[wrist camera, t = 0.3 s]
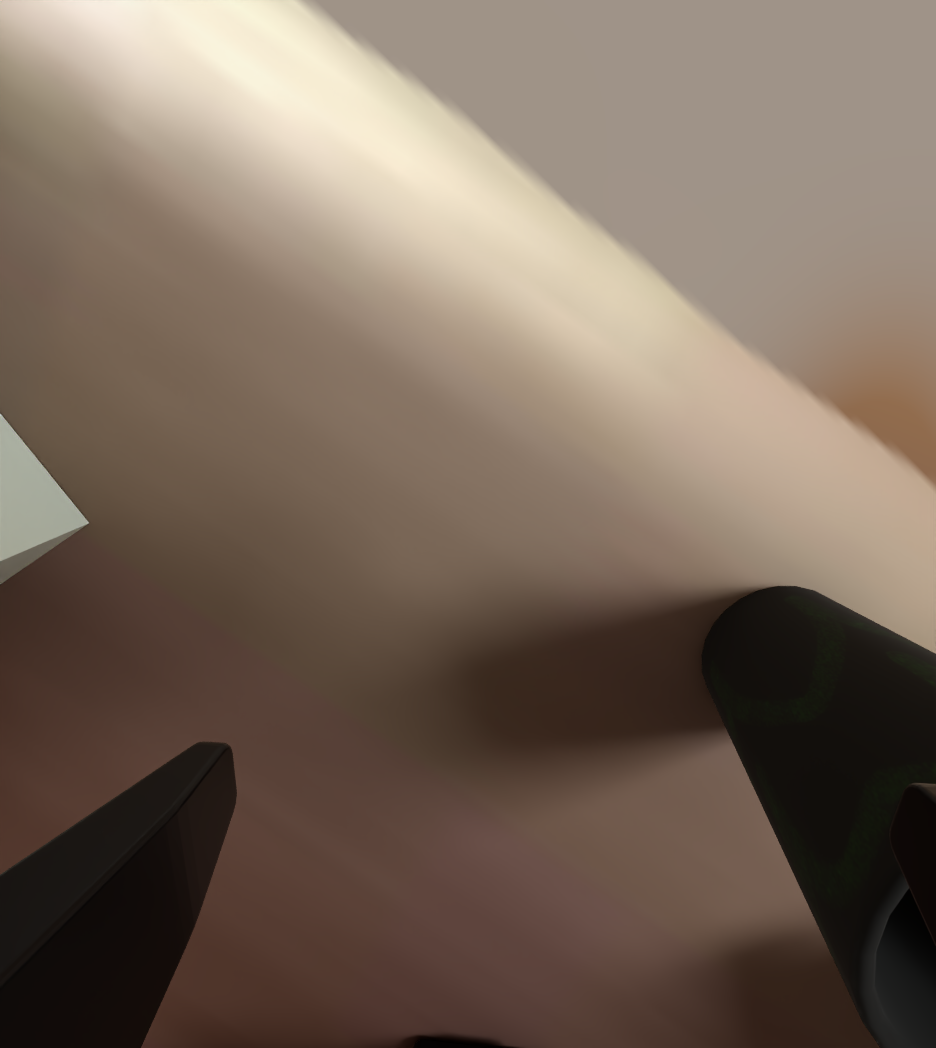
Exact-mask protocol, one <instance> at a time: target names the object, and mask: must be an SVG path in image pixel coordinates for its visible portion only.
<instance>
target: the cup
mask: <svg viewBox="0 0 936 1048" xmlns="http://www.w3.org/2000/svg"><path fill="white" fill-rule="evenodd" d="M702 673H703V676H704V679H705V682H706V686H707V688H708V690H709V693H710V695H711V697H712V699H713V701H714V703H715V705H716V708H717V710H718V712H719V714H720V716H721V718H722V720H723V723H724V725H725V727H726V729H727V731H728V733H729V736H730V738H731V740H732V742H733V744H734V746H735V748H736V751H737V753H738V755H739V757H740V759H741V761H742V764H743V766H744V768H745V770H746V772H747V774H748V776H749V779H750V781H751V783H752V785H753V787H754V789H755V791H756V794H757V796H758V798H759V800H760V802H761V804H762V807H763V809H764V811H765V813H766V815H767V817H768V819H769V822H770V824H771V826H772V828H773V830H774V832H775V835H776V837H777V839H778V841H779V843H780V845H781V847H782V850H783V852H784V854H785V856H786V858H787V860H788V862H789V865H790V867H791V869H792V871H793V873H794V875H795V878H796V880H797V882H798V884H799V886H800V888H801V890H802V893H803V895H804V897H805V899H806V901H807V903H808V905H809V908H810V910H811V912H812V914H813V916H814V918H815V921H816V923H817V925H818V927H819V929H820V931H821V933H822V936H823V938H824V940H825V942H826V944H827V946H828V949H829V951H830V953H831V955H832V957H833V959H834V961H835V964H836V966H837V968H838V970H839V972H840V974H841V976H842V979H843V981H844V983H845V985H846V987H847V989H848V992H849V994H850V996H851V998H852V1000H853V1002H854V1004H855V1007H856V1009H857V1011H858V1013H859V1015H860V1017H861V1020H862V1022H863V1023H864V1025H865V1026H866V1028H867V1029H868V1030H869V1032H870V1033H871V1035H872V1036H873V1038H874V1039H875V1040H876V1042H877V1043H878V1045H879V1046H880V1048H936V946H935V944H934V941H933V939H932V937H931V935H930V932H929V930H928V928H927V926H926V924H925V921H924V919H923V917H922V915H921V913H920V910H919V908H918V906H917V904H916V902H915V899H914V897H913V895H912V893H911V890H910V888H909V886H908V884H907V882H906V879H905V877H904V875H903V873H902V871H901V868H900V866H899V864H898V862H897V860H896V857H895V855H894V853H893V850H892V848H891V844H890V837H889V834H890V827H891V824H892V821H893V819H894V816H895V813H896V810H897V808H898V805H899V802H900V799H901V797H902V794H903V791H904V789H905V788H906V787H907V786H908V785H909V784H912V783H926V784H936V654H935V653H933V652H931V651H929V650H927V649H925V648H923V647H921V646H920V645H918V644H916V643H914V642H912V641H910V640H908V639H906V638H904V637H902V636H900V635H898V634H896V633H895V632H893V631H891V630H889V629H887V628H885V627H883V626H881V625H879V624H877V623H875V622H873V621H872V620H870V619H868V618H866V617H864V616H862V615H860V614H858V613H856V612H854V611H852V610H850V609H849V608H847V607H845V606H843V605H841V604H839V603H837V602H835V601H833V600H831V599H829V598H827V597H825V596H824V595H822V594H820V593H818V592H816V591H813V590H809V589H805V588H801V587H797V586H777V587H773V588H768V589H763V590H759V591H757V592H754V593H752V594H750V595H748V596H746V597H743V598H741V599H740V600H738V601H737V602H736V603H734V604H733V605H732V606H730V607H729V608H728V609H726V610H725V611H724V613H723V614H722V615H721V616H720V617H719V618H718V619H717V621H716V622H715V623H714V624H713V626H712V628H711V630H710V632H709V634H708V636H707V638H706V640H705V644H704V648H703V652H702Z"/></svg>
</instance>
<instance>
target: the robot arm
mask: <svg viewBox="0 0 936 1048" xmlns="http://www.w3.org/2000/svg"><path fill="white" fill-rule="evenodd" d="M236 796H237V789H236V780H235V771H234V762H233V753H232V749H231V747H230V746H229V745H228V744H227V743H219V742H198V743H196V744H194V745H193V746H191V747H190V748H188V749H187V750H185V751H184V752H182V753H181V754H179V755H178V756H176V757H175V758H173V759H172V760H170V761H169V762H167V763H166V764H164V765H163V766H161V767H160V768H158V769H157V770H155V771H154V772H152V773H151V774H149V775H148V776H146V777H145V778H143V779H142V780H140V781H139V782H138V783H136V784H135V785H133V786H132V787H130V788H129V789H127V790H126V791H124V792H123V793H121V794H120V795H118V796H117V797H115V798H114V799H112V800H111V801H109V802H108V803H106V804H105V805H103V806H102V807H100V808H99V809H97V810H96V811H94V812H93V813H91V814H90V815H88V816H87V817H85V818H84V819H82V820H81V821H79V822H78V823H76V824H75V825H73V826H72V827H70V828H69V829H68V830H66V831H65V832H63V833H62V834H60V835H59V836H57V837H56V838H54V839H53V840H51V841H50V842H48V843H47V844H45V845H44V846H42V847H41V848H39V849H38V850H36V851H35V852H33V853H32V854H30V855H29V856H27V857H26V858H24V859H23V860H21V861H20V862H18V863H17V864H15V865H14V866H12V867H11V868H9V869H8V870H6V871H5V872H3V873H2V874H1V875H0V1048H141V1046H142V1044H143V1042H144V1040H145V1037H146V1035H147V1033H148V1031H149V1028H150V1026H151V1024H152V1022H153V1019H154V1017H155V1015H156V1013H157V1011H158V1008H159V1006H160V1004H161V1002H162V999H163V997H164V995H165V993H166V991H167V988H168V986H169V984H170V982H171V979H172V977H173V975H174V973H175V970H176V968H177V966H178V964H179V962H180V959H181V957H182V955H183V953H184V950H185V948H186V946H187V944H188V941H189V939H190V936H191V934H192V932H193V929H194V927H195V924H196V921H197V919H198V916H199V913H200V910H201V907H202V904H203V901H204V898H205V895H206V892H207V890H208V887H209V884H210V881H211V878H212V875H213V872H214V869H215V866H216V863H217V860H218V857H219V854H220V851H221V848H222V845H223V842H224V839H225V836H226V833H227V830H228V827H229V824H230V821H231V818H232V815H233V812H234V808H235V804H236ZM889 837H890V844H891V848H892V850H893V853H894V855H895V857H896V860H897V862H898V864H899V866H900V868H901V871H902V873H903V875H904V877H905V879H906V882H907V884H908V886H909V888H910V890H911V893H912V895H913V897H914V899H915V902H916V904H917V906H918V908H919V910H920V913H921V915H922V917H923V919H924V921H925V924H926V926H927V928H928V930H929V932H930V935H931V937H932V939H933V941H934V944H935V946H936V784H926V783H912V784H909V785H908V786H907V787H906V788H905V789H904V791H903V794H902V797H901V799H900V802H899V805H898V808H897V810H896V813H895V816H894V819H893V821H892V824H891V827H890V834H889ZM413 1048H485V1047H477V1046H469V1045H461V1044H454V1043H446V1042H438V1041H430V1040H420V1041H417V1042H416V1043H415V1044H414V1046H413Z"/></svg>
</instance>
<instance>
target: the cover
mask: <svg viewBox="0 0 936 1048" xmlns="http://www.w3.org/2000/svg"><path fill="white" fill-rule="evenodd" d="M87 524H89V522H88V521H87V520H86V519H85V517H84V516H83V515H82V514H81V512H80V511H79V510H78V509H77V507H76V506H75V505H74V504H73V503H72V501H71V500H70V499H69V498H68V496H67V495H66V494H65V493H64V491H63V490H62V489H61V488H60V487H59V485H58V484H57V483H56V482H55V480H54V479H53V478H52V477H51V475H50V474H49V473H48V472H47V470H46V469H45V468H44V467H43V466H42V464H41V463H40V462H39V461H38V459H37V458H36V457H35V456H34V454H33V453H32V452H31V451H30V449H29V448H28V447H27V446H26V445H25V443H24V442H23V441H22V440H21V438H20V437H19V436H18V435H17V433H16V432H15V431H14V430H13V429H12V427H11V426H10V425H9V424H8V422H7V421H6V420H5V419H4V417H3V416H2V415H1V414H0V584H2V583H3V582H5V581H6V580H8V579H9V578H10V577H12V576H13V575H15V574H16V573H18V572H19V571H21V570H22V569H24V568H25V567H26V566H28V565H29V564H31V563H32V562H34V561H35V560H37V559H38V558H39V557H41V556H42V555H44V554H45V553H47V552H48V551H50V550H51V549H53V548H54V547H55V546H57V545H58V544H60V543H61V542H63V541H64V540H66V539H67V538H68V537H70V536H71V535H73V534H74V533H76V532H77V531H79V530H80V529H82V528H83V527H84V526H86V525H87Z"/></svg>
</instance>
